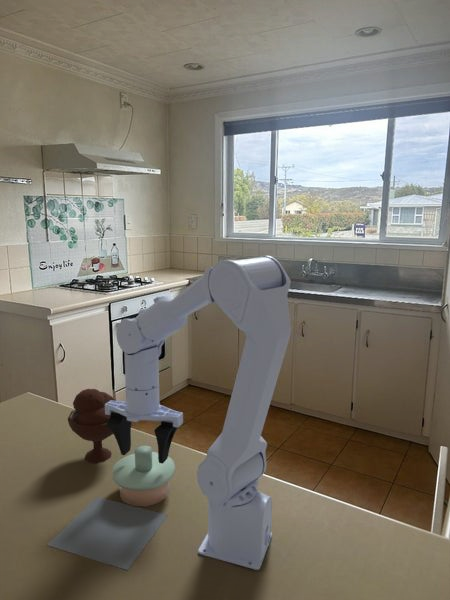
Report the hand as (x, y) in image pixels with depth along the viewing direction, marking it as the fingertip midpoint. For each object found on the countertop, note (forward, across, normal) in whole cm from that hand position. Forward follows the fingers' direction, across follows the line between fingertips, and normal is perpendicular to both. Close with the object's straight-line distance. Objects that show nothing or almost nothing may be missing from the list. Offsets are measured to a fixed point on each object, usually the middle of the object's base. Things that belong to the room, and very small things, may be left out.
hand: (144, 456), depth 81 cm
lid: (+3, 0, 0) cm, 3 cm away
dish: (+7, 0, 0) cm, 7 cm away
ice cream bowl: (+7, -15, +7) cm, 18 cm away
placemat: (+7, 0, -11) cm, 13 cm away
